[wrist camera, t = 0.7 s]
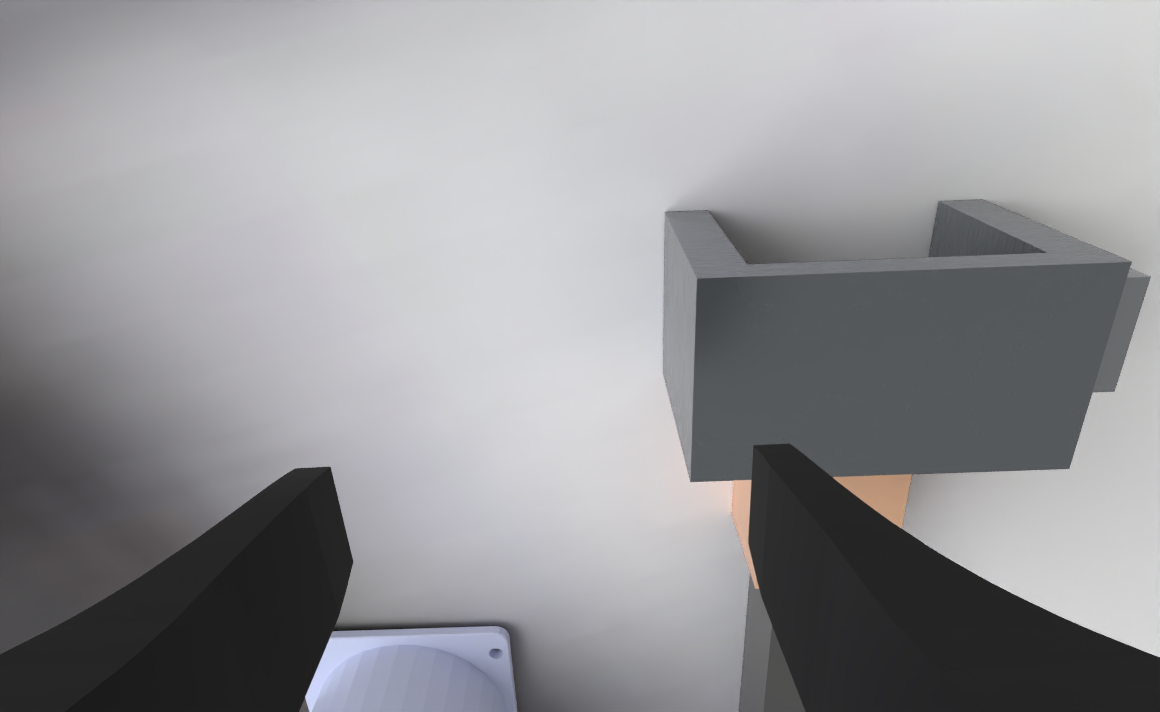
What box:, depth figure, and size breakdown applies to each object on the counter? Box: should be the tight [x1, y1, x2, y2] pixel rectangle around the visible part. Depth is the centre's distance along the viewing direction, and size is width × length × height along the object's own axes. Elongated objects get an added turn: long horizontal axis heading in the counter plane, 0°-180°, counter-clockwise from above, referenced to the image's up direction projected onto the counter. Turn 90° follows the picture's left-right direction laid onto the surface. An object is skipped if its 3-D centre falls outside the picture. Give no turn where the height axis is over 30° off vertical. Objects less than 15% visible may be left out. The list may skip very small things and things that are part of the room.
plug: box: [731, 474, 912, 712], centre depth 24 cm, size 17×4×4 cm, turn 2°
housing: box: [663, 199, 1151, 482], centre depth 18 cm, size 5×11×6 cm, turn 92°
